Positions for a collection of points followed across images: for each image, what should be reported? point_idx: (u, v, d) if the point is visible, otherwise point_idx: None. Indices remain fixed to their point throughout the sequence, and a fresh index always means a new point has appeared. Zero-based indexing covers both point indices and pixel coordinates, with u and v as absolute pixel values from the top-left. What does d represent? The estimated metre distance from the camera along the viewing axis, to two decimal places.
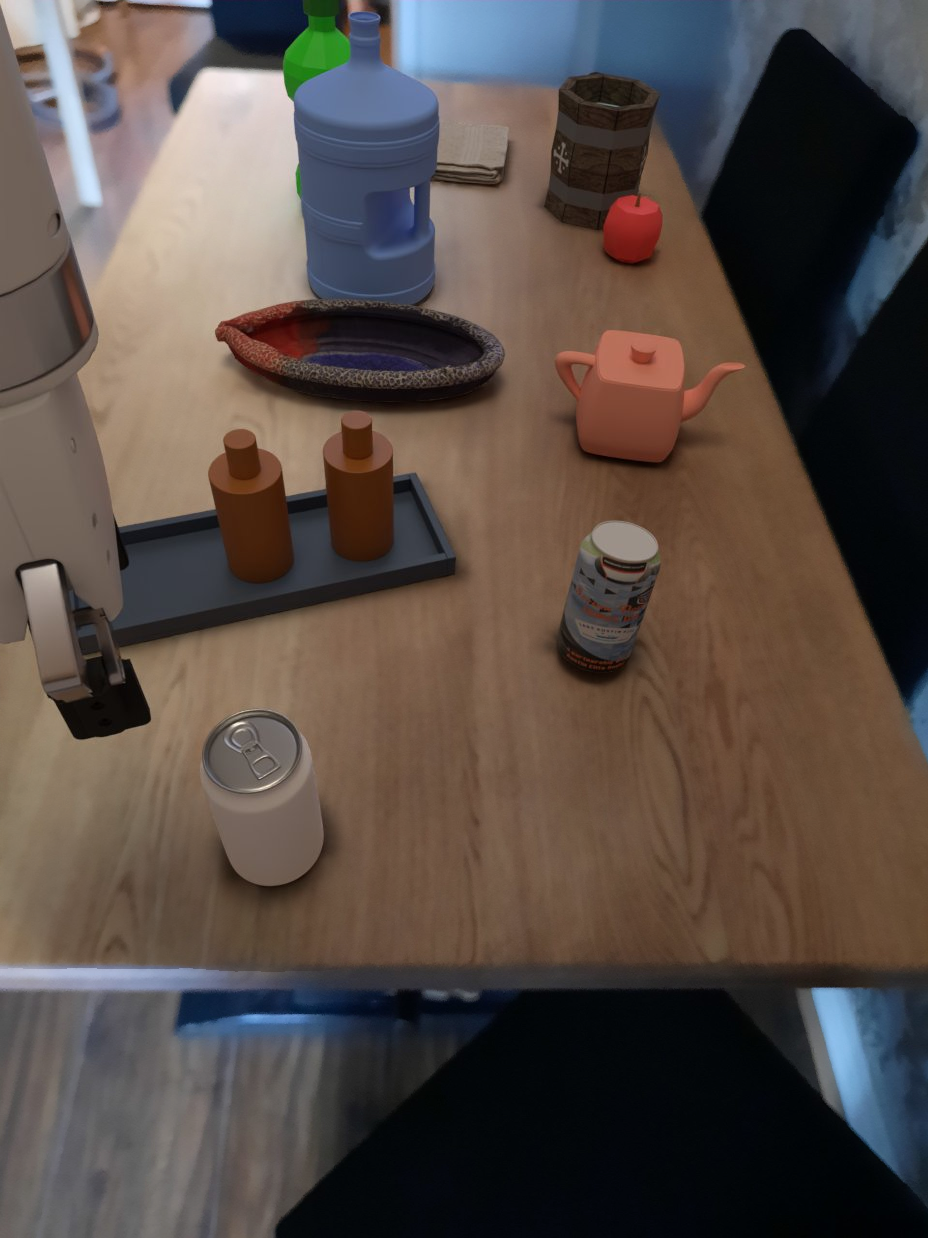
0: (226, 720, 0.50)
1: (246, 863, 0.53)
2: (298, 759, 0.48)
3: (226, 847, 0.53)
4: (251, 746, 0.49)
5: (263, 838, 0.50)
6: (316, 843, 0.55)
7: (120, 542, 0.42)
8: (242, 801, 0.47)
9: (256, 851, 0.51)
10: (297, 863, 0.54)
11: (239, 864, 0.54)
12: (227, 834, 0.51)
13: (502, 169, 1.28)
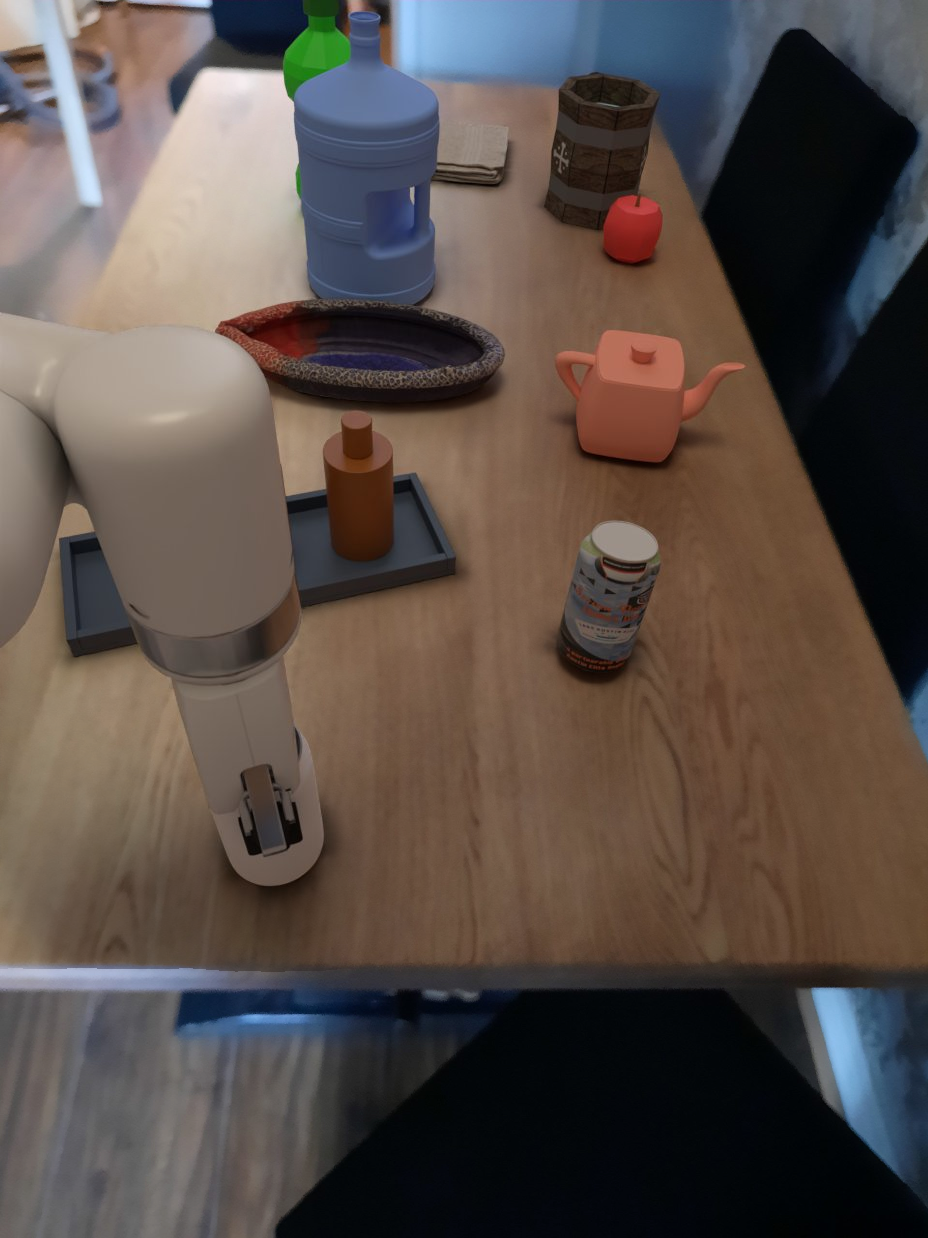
0: None
1: (246, 863, 0.53)
2: (298, 759, 0.48)
3: (226, 847, 0.53)
4: None
5: None
6: (316, 843, 0.55)
7: None
8: None
9: None
10: (297, 863, 0.54)
11: (239, 864, 0.54)
12: (227, 834, 0.51)
13: (502, 169, 1.28)
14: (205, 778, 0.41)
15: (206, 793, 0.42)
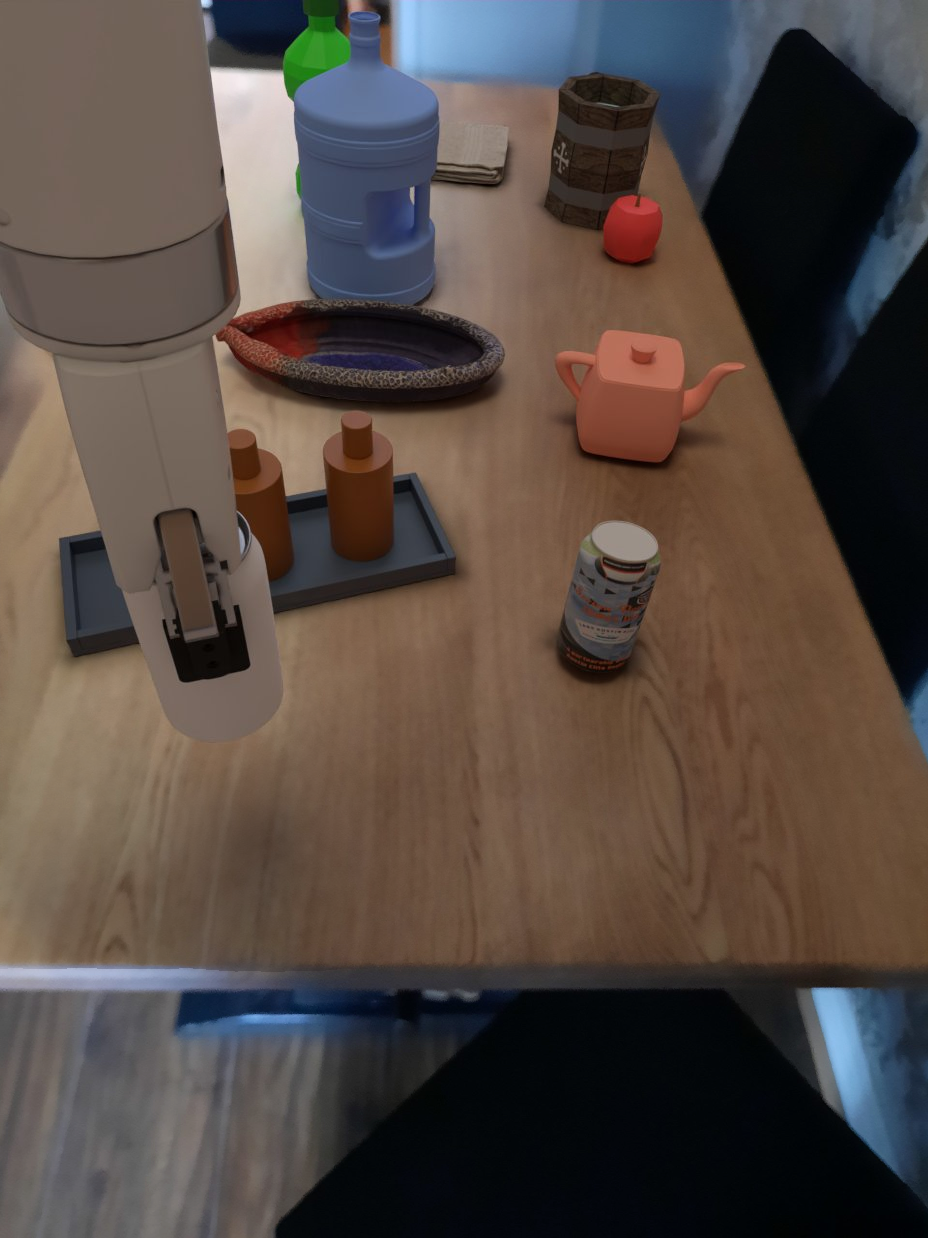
0: None
1: (181, 706, 0.42)
2: (245, 552, 0.37)
3: (157, 685, 0.42)
4: None
5: None
6: (272, 690, 0.44)
7: None
8: None
9: (193, 684, 0.40)
10: (247, 712, 0.43)
11: (174, 709, 0.43)
12: (155, 659, 0.40)
13: (502, 169, 1.28)
14: (104, 522, 0.30)
15: (109, 552, 0.31)
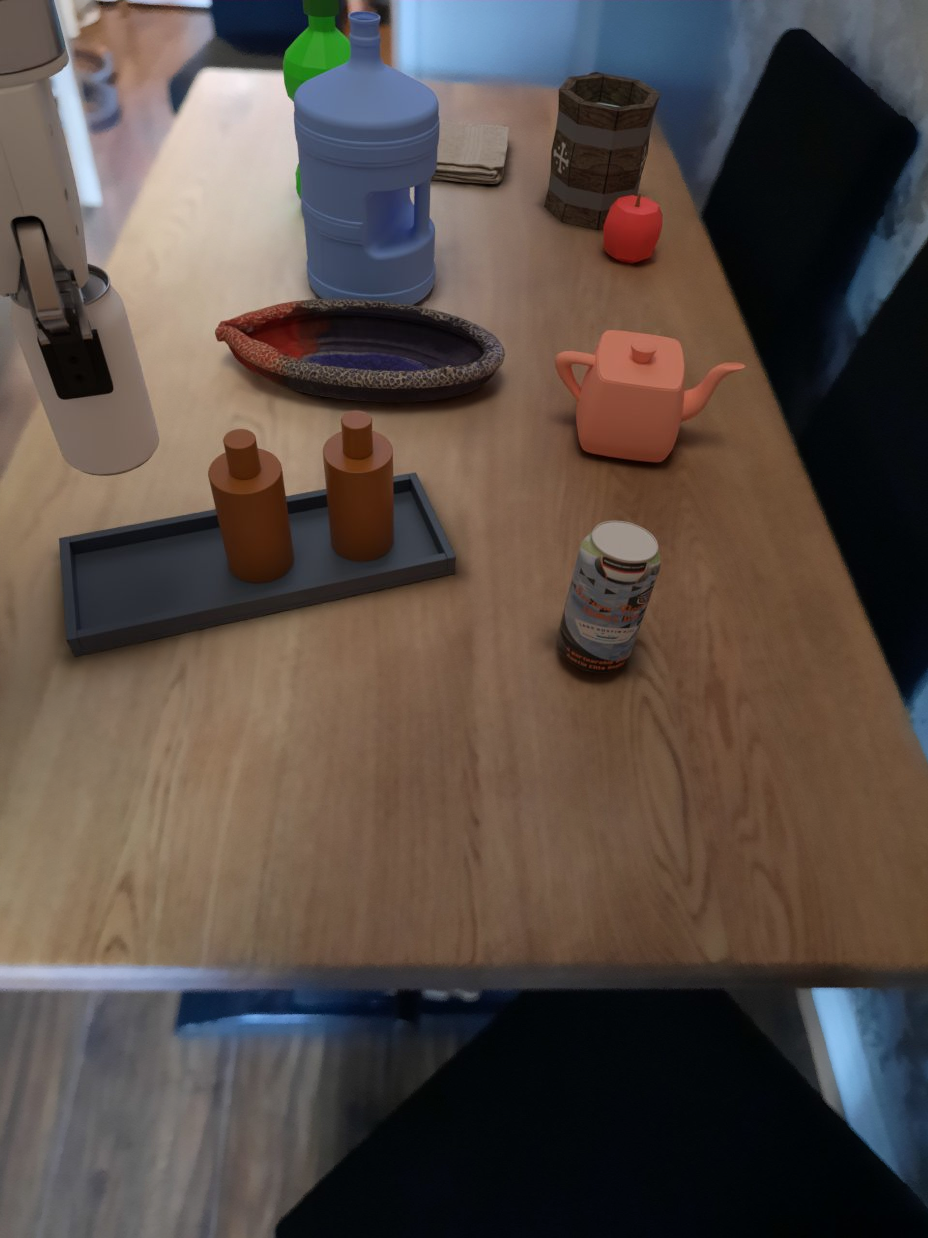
0: None
1: (68, 434, 0.54)
2: (103, 292, 0.50)
3: (50, 419, 0.55)
4: None
5: None
6: (144, 431, 0.57)
7: None
8: None
9: (73, 409, 0.53)
10: (122, 444, 0.56)
11: (64, 440, 0.55)
12: (43, 386, 0.52)
13: (502, 169, 1.28)
14: None
15: None
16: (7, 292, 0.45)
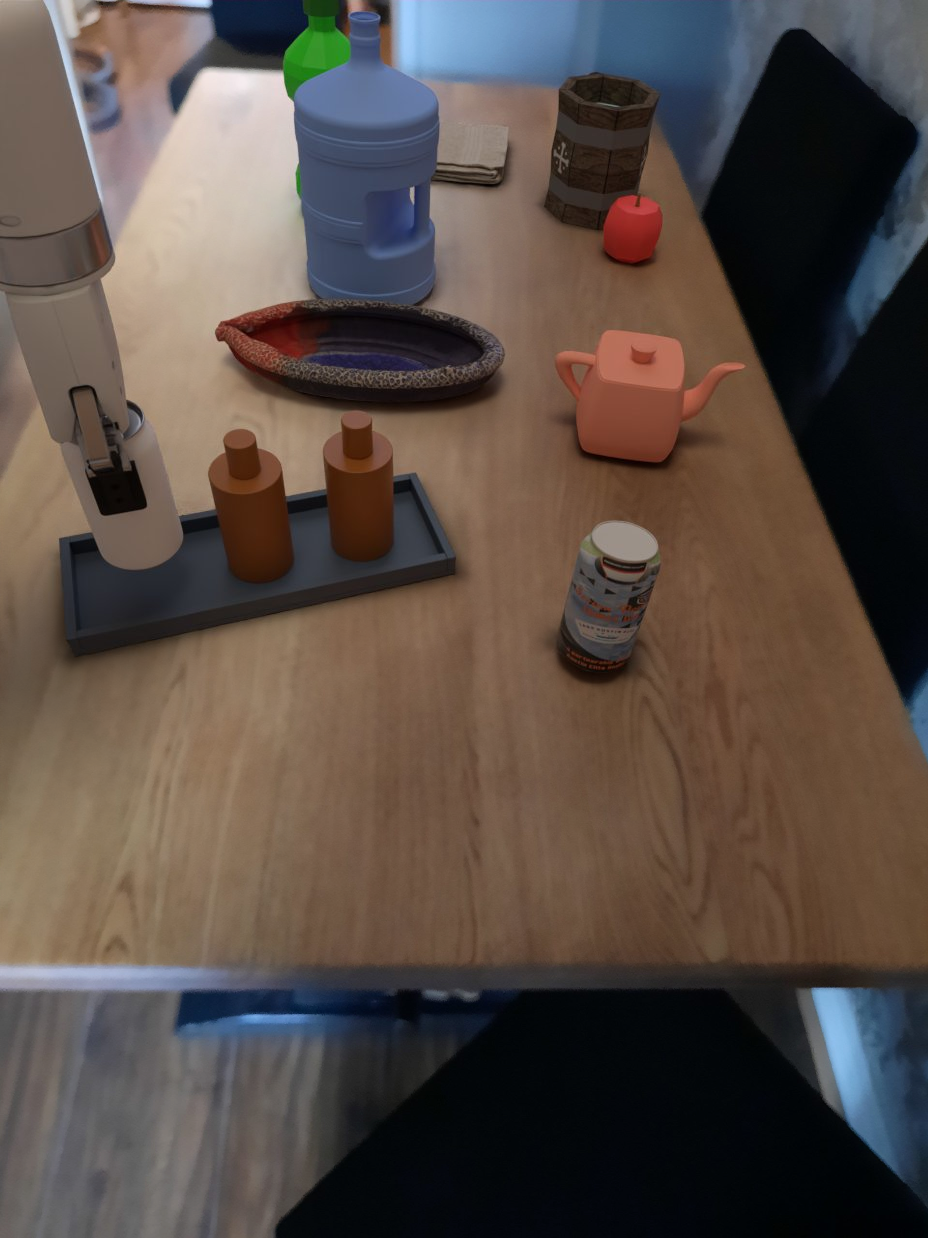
0: None
1: (107, 539, 0.64)
2: (139, 427, 0.59)
3: (91, 526, 0.64)
4: (103, 421, 0.60)
5: None
6: (171, 533, 0.66)
7: None
8: None
9: (112, 520, 0.62)
10: (153, 545, 0.65)
11: (103, 543, 0.64)
12: (87, 503, 0.61)
13: (502, 169, 1.28)
14: (39, 393, 0.51)
15: (44, 414, 0.52)
16: (63, 441, 0.54)
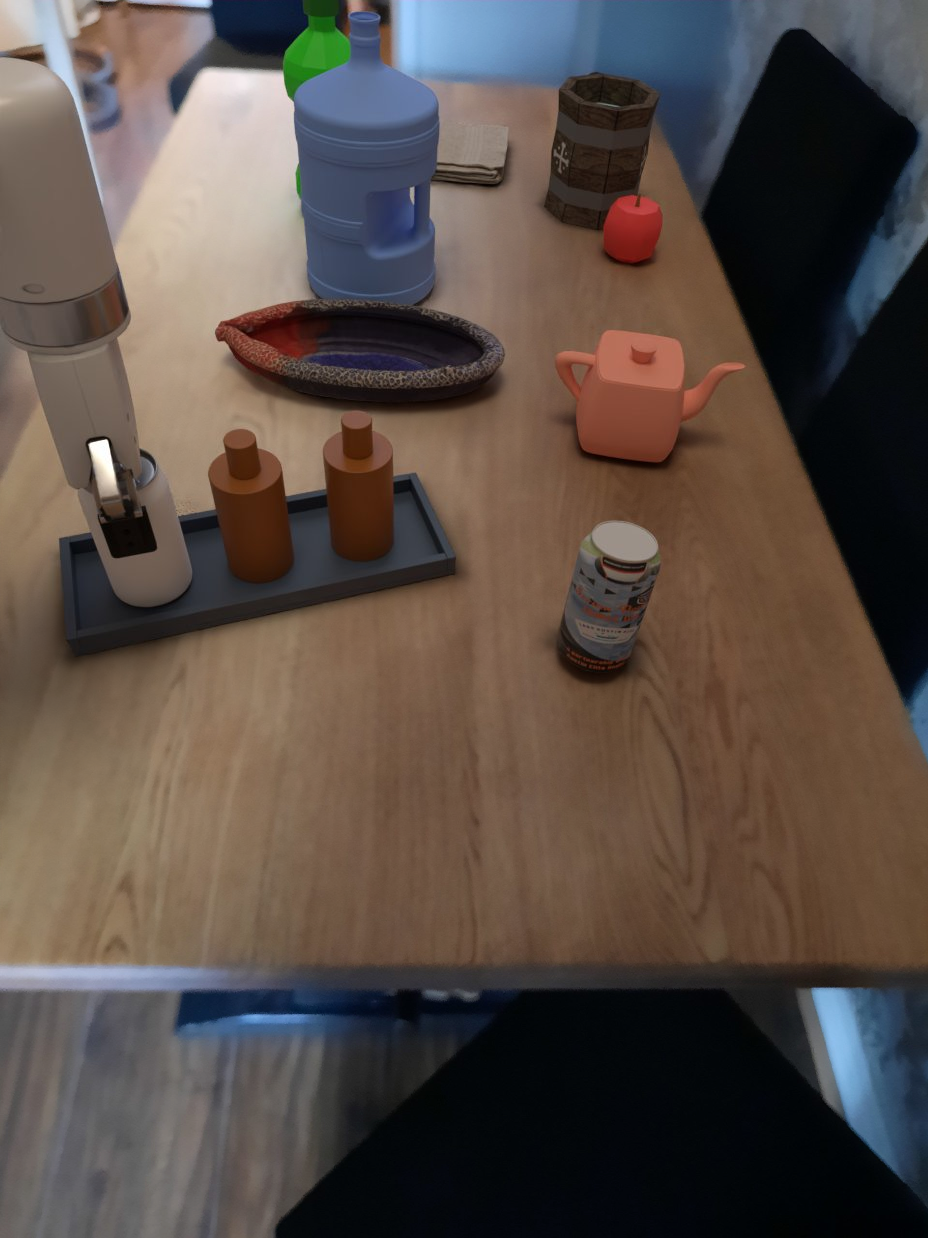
0: None
1: (121, 579, 0.67)
2: (153, 476, 0.62)
3: (106, 567, 0.67)
4: (118, 470, 0.63)
5: None
6: (181, 572, 0.69)
7: None
8: None
9: (126, 562, 0.65)
10: (164, 585, 0.68)
11: (117, 583, 0.68)
12: (102, 546, 0.65)
13: (502, 169, 1.28)
14: (58, 444, 0.54)
15: (62, 462, 0.55)
16: (79, 487, 0.57)
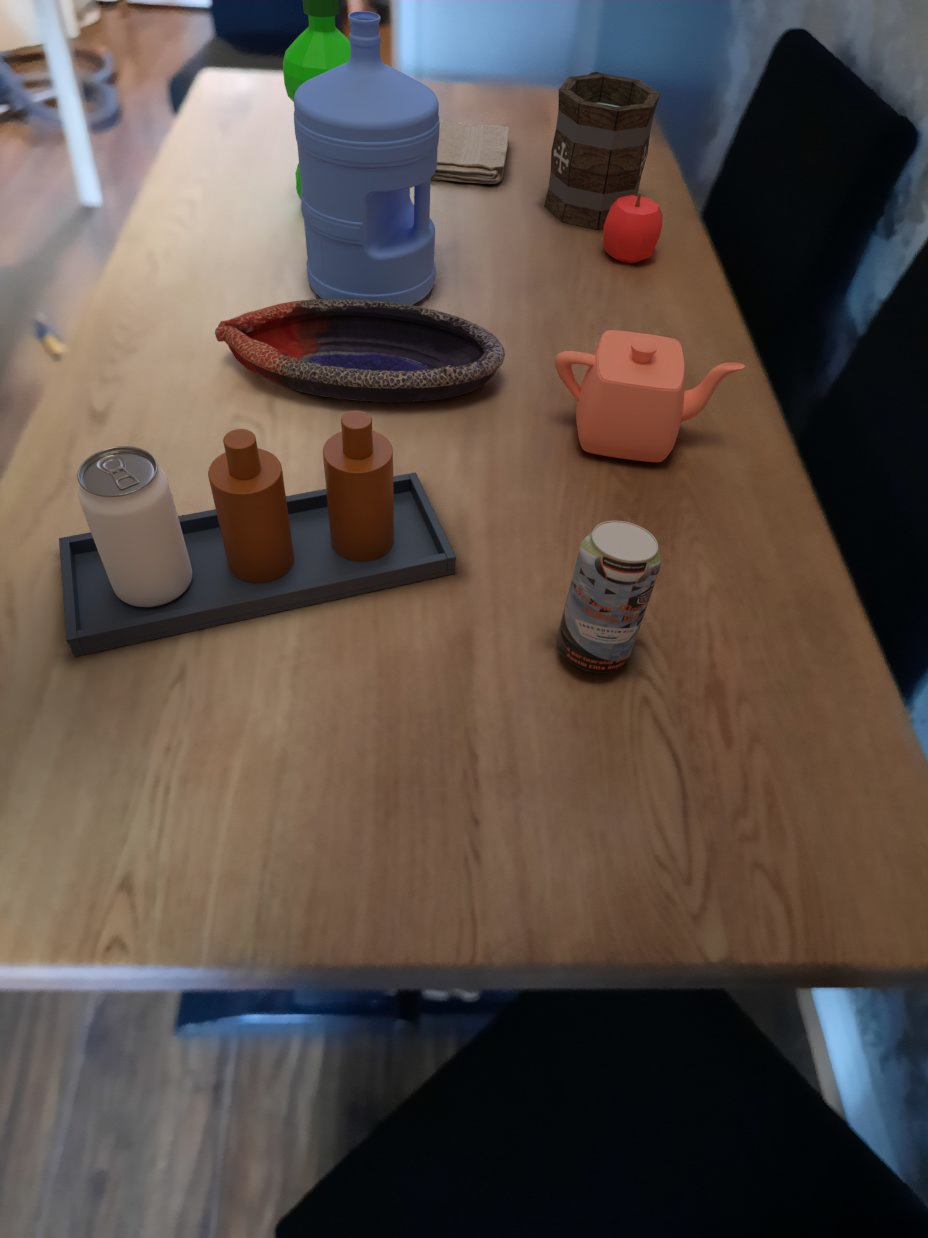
0: (99, 452, 0.64)
1: (121, 579, 0.67)
2: (153, 476, 0.62)
3: (106, 567, 0.67)
4: (118, 470, 0.63)
5: (129, 547, 0.64)
6: (181, 572, 0.69)
7: None
8: (107, 504, 0.61)
9: (126, 562, 0.65)
10: (164, 585, 0.68)
11: (117, 583, 0.68)
12: (102, 546, 0.65)
13: (502, 169, 1.28)
14: None
15: None
16: None
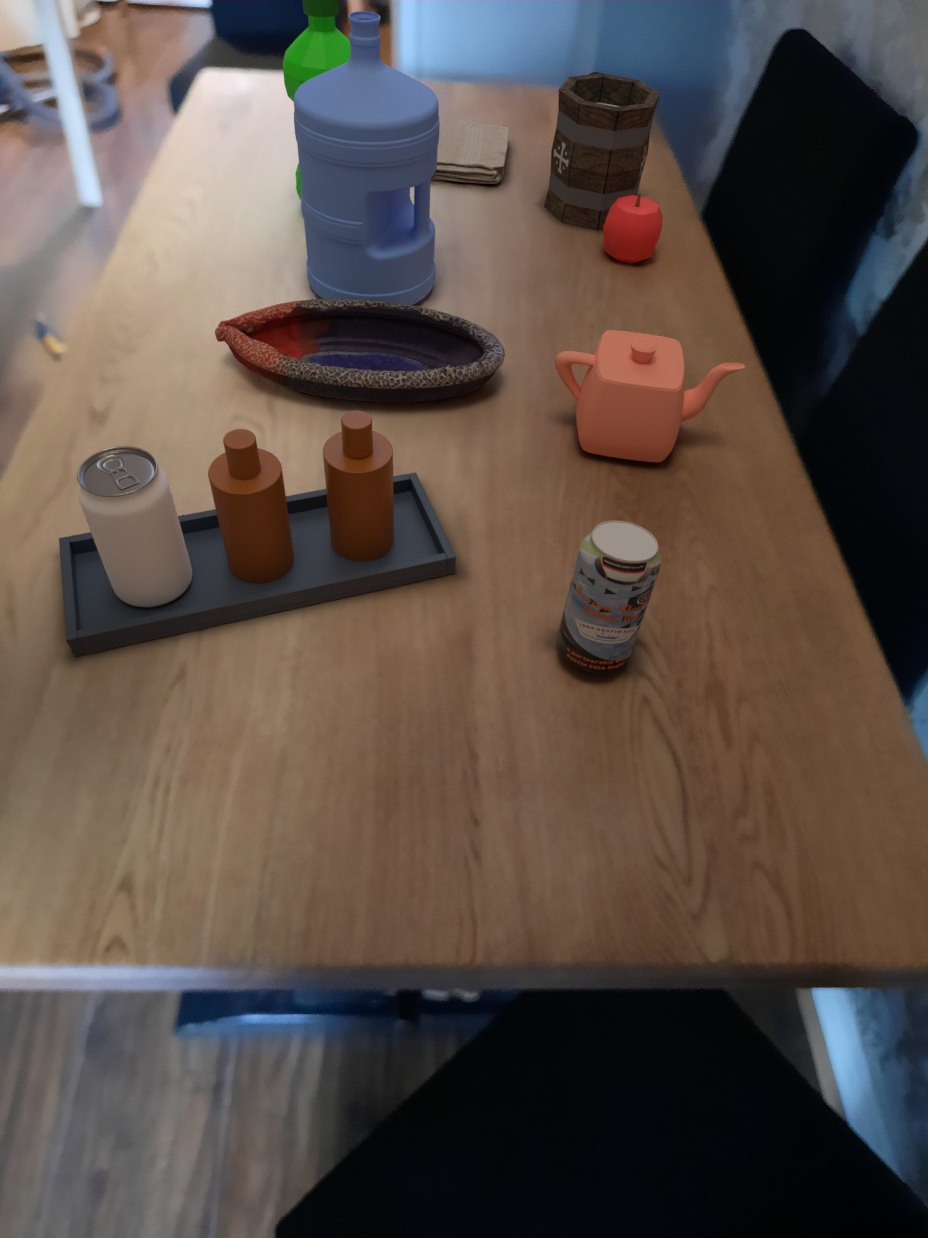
0: (99, 452, 0.64)
1: (121, 579, 0.67)
2: (153, 476, 0.62)
3: (106, 567, 0.67)
4: (118, 470, 0.63)
5: (129, 547, 0.64)
6: (181, 572, 0.69)
7: None
8: (107, 504, 0.61)
9: (126, 562, 0.65)
10: (164, 585, 0.68)
11: (117, 583, 0.68)
12: (102, 546, 0.65)
13: (502, 169, 1.28)
14: None
15: None
16: None
